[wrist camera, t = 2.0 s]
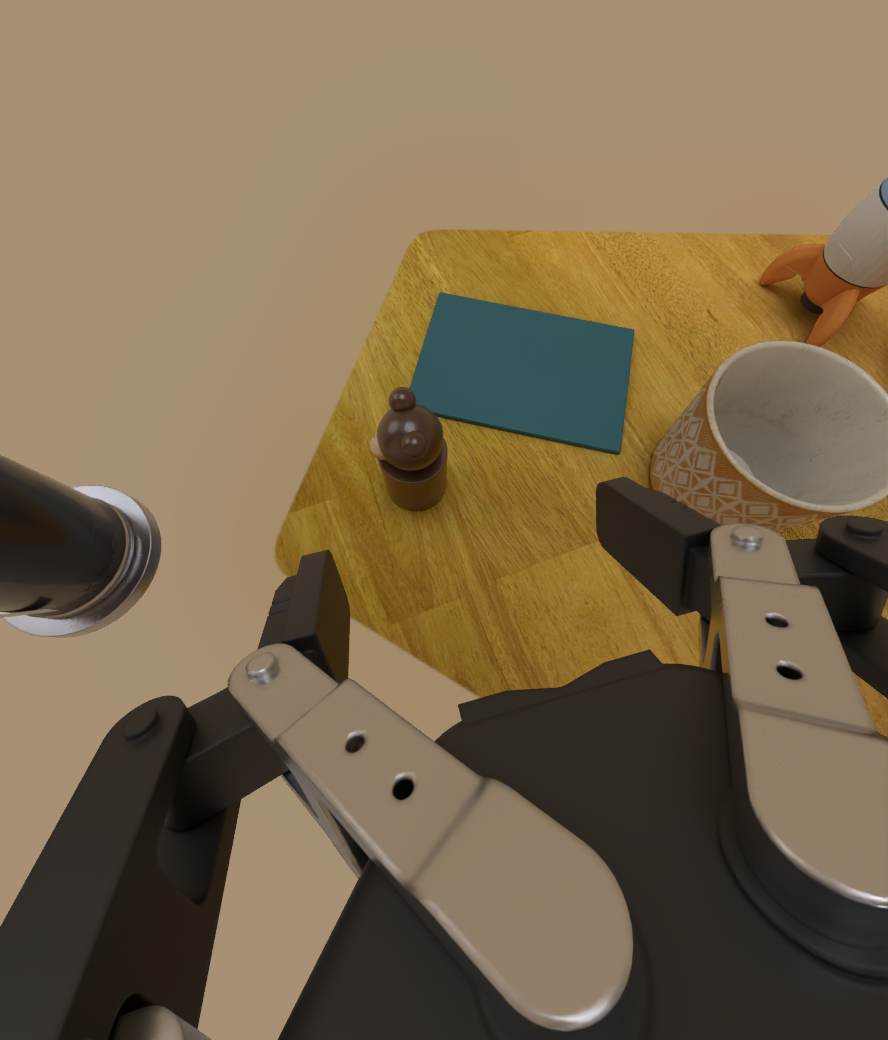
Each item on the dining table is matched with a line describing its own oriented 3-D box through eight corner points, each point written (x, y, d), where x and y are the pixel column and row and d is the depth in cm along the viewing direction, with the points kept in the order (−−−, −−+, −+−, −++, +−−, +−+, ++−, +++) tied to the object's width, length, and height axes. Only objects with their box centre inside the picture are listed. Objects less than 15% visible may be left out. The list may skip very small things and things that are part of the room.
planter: (633, 414, 39) (700, 331, 29) (770, 428, 38) (886, 349, 28) (638, 544, 35) (717, 499, 25) (791, 561, 34) (933, 523, 25)
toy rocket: (845, 292, 45) (1063, 157, 30) (826, 379, 44) (1044, 284, 29) (759, 257, 44) (939, 103, 30) (737, 345, 43) (913, 230, 28)
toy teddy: (390, 518, 35) (370, 461, 25) (378, 464, 37) (354, 390, 27) (452, 503, 36) (458, 441, 26) (437, 451, 37) (437, 373, 27)
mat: (404, 409, 39) (403, 406, 38) (439, 295, 43) (439, 292, 43) (618, 454, 37) (620, 452, 37) (632, 333, 42) (634, 329, 41)
